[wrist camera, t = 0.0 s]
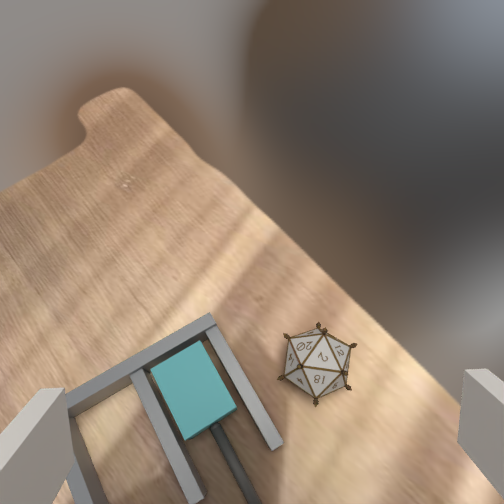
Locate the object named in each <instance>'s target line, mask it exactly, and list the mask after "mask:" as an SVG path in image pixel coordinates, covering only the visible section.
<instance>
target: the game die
mask: <svg viewBox="0 0 504 504" xmlns="http://www.w3.org/2000/svg"><path fill="white" fill-rule="evenodd" d="M320 325H321V324H320V323H319V322H318V323H317V324H316V327H317V328H316V329H313V330H310V331H307V332H304V333H302V334H299V335H296V336H293V337H289V335H288V334H284V333H283V335H284V338H286V339H288V346H287V354H286V362H285V370H284V375H281V376H279V377H278V379H277V380H283V379H284V378H286V379H287V380H289V381H290V382H292V383H293V384H294V385H296V386H297V387H299V388H300V389H302V390H303V391H304V392H306V393H307V394H309V395H310V396H312V397H313V398H314V400H313V401H314V403H313V404H314V405H315V407H316V406H317V405H318V404H319V403H318V402H319V401H318V398H320V397H322V396H325V395H327V394H329V393H331V392H333V391H336V390H338V389H340V388H342V387H346V389H347V390H352V389H351V386H349V385H347V376H348V368H349V360H350V351H351V348H354V347H356V345H357V344H356V343H353V344H351V345H348V344H346V343H344V342H342V341H341V340H339V339H337V338H335V337H334V336H332V335H330V334H329V333H327V329H326V327H325V328H323V330H322V329H320V327H321V326H320Z"/></svg>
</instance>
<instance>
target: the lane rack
mask: <svg viewBox="0 0 504 504" xmlns="http://www.w3.org/2000/svg"><path fill="white" fill-rule="evenodd" d="M207 339H208V340H209V342H210V343H211V345H212V347H213V349H214V351H215V352H216V354H217V356H218V358H219V359H220V361H221V363H222V365H223V367H224V368H225V370H226V372H227V374H228V376H229V377H230V379H231V381H232V383H233V385H234V386H235V388H236V390H237V392H238V393H239V395H240V397H241V399H242V401H243V402H244V404H245V406H246V408H247V410H248V411H249V413H250V415H251V417H252V419H253V420H254V422H255V424H256V426H257V428H258V429H259V431H260V433H261V435H262V436H263V438H264V440H265V442H266V444H267V445H268V447H269V449H270V450H271V451H273V450H274V449H276V448H277V447H279V446H280V445H282V444H283V443H284V442H283V440H282V438H281V437H280V435H279V433H278V431H277V430H276V428H275V426H274V424H273V423H272V421H271V419H270V417H269V416H268V414H267V412H266V410H265V409H264V407H263V405H262V403H261V402H260V400H259V398H258V397H257V395H256V393H255V391H254V390H253V388H252V386H251V384H250V383H249V381H248V379H247V377H246V376H245V374H244V372H243V370H242V369H241V367H240V365H239V363H238V362H237V360H236V358H235V356H234V355H233V353H232V351H231V350H230V348H229V346H228V344H227V343H226V341H225V339H224V337H223V336H222V334H221V332H220V330H219V329H218V327H217V325H216V322H215V321H214V319H213V317H212V315H211V314H210V312H209V313H207V314H206V315H204V316H202V317H200V318H199V319H197V320H195V321H193V322H192V323H190V324H188V325H186V326H185V327H183V328H181V329H179V330H178V331H176V332H174V333H172V334H170V335H169V336H167V337H165V338H163V339H162V340H160V341H158V342H156V343H155V344H153V345H151V346H149V347H148V348H146V349H144V350H142V351H141V352H139V353H137V354H135V355H134V356H132V357H130V358H128V359H127V360H125V361H123V362H121V363H119V364H118V365H116V366H114V367H112V368H111V369H109V370H107V371H105V372H104V373H102V374H100V375H98V376H97V377H95V378H93V379H91V380H90V381H88V382H86V383H84V384H83V385H81V386H79V387H77V388H76V389H74V390H72V391H70V392H69V393H67V394H65V395H66V402H67V410H68V417H69V424H70V432H71V439H72V446H73V454H74V461H75V462H74V464H73V466H72V468H71V470H70V471H69V473H68V475H67V477H66V480H67V483H68V485H69V488H70V491H71V494H72V496H73V499H74V502H75V504H109V503H108V501H107V498H106V496H105V493H104V491H103V488H102V486H101V483H100V481H99V478H98V476H97V473H96V471H95V468H94V465H93V463H92V460H91V458H90V455H89V453H88V450H87V448H86V445H85V443H84V440H83V438H82V435H81V433H80V430H79V428H78V425H77V423H76V420H75V418H74V417H75V416H77V415H79V414H80V413H82V412H84V411H86V410H87V409H89V408H91V407H92V406H94V405H96V404H98V403H99V402H101V401H103V400H104V399H106V398H108V397H110V396H111V395H113V394H115V393H116V392H118V391H120V390H121V389H123V388H125V387H127V386H128V385H130V384H132V383H133V384H134V386H135V389H136V391H137V393H138V395H139V397H140V399H141V402H142V404H143V406H144V408H145V410H146V412H147V414H148V417H149V419H150V421H151V423H152V425H153V427H154V430H155V432H156V434H157V436H158V438H159V440H160V442H161V445H162V447H163V449H164V451H165V453H166V455H167V458H168V460H169V462H170V464H171V466H172V468H173V470H174V473H175V475H176V477H177V479H178V481H179V483H180V486H181V488H182V490H183V492H184V494H185V496H186V498H187V501H188V503H189V504H196V503H197V502H199V501H200V500H202V499H203V498H204V497H205V495H206V493H207V490H206V488H205V486H204V484H203V482H202V480H201V478H200V476H199V474H198V472H197V470H196V468H195V466H194V464H193V461H192V459H191V457H190V455H189V453H188V451H187V449H186V447H185V445H184V443H183V441H182V439H181V437H180V435H179V433H178V431H177V428H176V426H175V424H174V422H173V420H172V418H171V416H170V414H169V412H168V410H167V408H166V406H165V404H164V402H163V400H162V398H161V395H160V393H159V391H158V389H157V387H156V385H155V383H154V381H153V379H152V377H151V375H150V372H151V370H150V369H151V368H153V367H155V366H157V365H158V364H160V363H162V362H163V361H165V360H167V359H169V358H170V357H172V356H174V355H175V354H177V353H179V352H181V351H182V350H184V349H186V348H187V347H189V346H191V345H193V344H194V343H196V342H198V341H199V340H200V341H201V343H202V342H203V341H205V340H207Z"/></svg>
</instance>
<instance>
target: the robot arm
mask: <svg viewBox="0 0 504 504" xmlns="http://www.w3.org/2000/svg"><path fill="white" fill-rule="evenodd" d="M457 442H458V444H459V445H460V446H461V447H462V448H463V450H464V451H465V452H466V453H467V455H468V456H469V457H470V458H471V460H472V461H473V462H474V463H475V464H476V466H477V467H478V468H479V469H480V471H481V472H482V473H483V474H484V476H485V477H486V478H487V479H488V481H489V482H490V483H491V484H492V485H493V487H494V488H495V489H496V490H497V492H498V493H499V494H500V495H501V497H502V498H503V499H504V382H503V381H501V380H500V379H499V378H498V377H496V376H495V375H494V374H493V373H491V372H490V371H489V370H488V369H468V370H464V380H463V389H462V399H461V410H460V420H459V430H458V441H457ZM74 462H75V461H74V454H73V446H72V439H71V432H70V424H69V417H68V410H67V402H66V395H65V388H45V389H40V390H39V391H38V392H37V393H36V394H35V395H34V396H33V398H32V399H31V400H30V401H29V402H28V403H27V404H26V406H25V407H24V408H23V409H22V410H21V411H20V412H19V414H18V415H17V416H16V417H15V418H14V419H13V420H12V422H11V423H10V424H9V425H8V426H7V427H6V428H5V430H4V431H3V432H2V433H1V434H0V504H52V503H53V501H54V499H55V497H56V496H57V494H58V492H59V490H60V488H61V486H62V484H63V483H64V481H65V479H66V477H67V475H68V473H69V471H70V470H71V468H72V466H73V464H74Z"/></svg>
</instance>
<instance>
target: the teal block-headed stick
mask: <svg viewBox="0 0 504 504" xmlns="http://www.w3.org/2000/svg"><path fill="white" fill-rule="evenodd" d="M150 370H151V372H152V374H153V376H154V378H155V380H156V382H157V384H158V386H159V388H160V390H161V392H162V394H163V396H164V399H165V401H166V403H167V405H168V407H169V409H170V411H171V413H172V415H173V417H174V419H175V421H176V423H177V425H178V427H179V429H180V431H181V433H182V435H183V438H184V440H188V439H192V438H194V437H195V436H197V435H198V434H200V433H201V432H203V431H205V430H206V429H208V428H209V427H210V430H211V432H212V434H213V436H214V438H215V440H216V442H217V444H218V446H219V448H220V450H221V452H222V454H223V456H224V457H225V459H226V461H227V463H228V465H229V467H230V469H231V471H232V473H233V475H234V477H235V479H236V481H237V483H238V485H239V487H240V489H241V491H242V492H243V494H244V496H245V498H246V500H247V502H248V504H262V503H261V501H260V499H259V497H258V495H257V493H256V491H255V489H254V487H253V486H252V484H251V482H250V480H249V478H248V476H247V474H246V472H245V470H244V468H243V467H242V465H241V463H240V461H239V459H238V457H237V455H236V453H235V451H234V449H233V448H232V446H231V444H230V442H229V440H228V438H227V436H226V434H225V432H224V430H223V429H222V427H221V425H220V423H218V422H219V421H220V420H222V419H223V418H225V417H226V416H228V415H229V414H231V413H233V412H234V411H236V410H237V407H236V405H235V403H234V401H233V399H232V397H231V396H230V394H229V392H228V390H227V388H226V387H225V385H224V383H223V381H222V379H221V377H220V376H219V374H218V372H217V370H216V368H215V367H214V365H213V363H212V361H211V359H210V357H209V356H208V354H207V352H206V350H205V348H204V347H203V345H202V343H201V341H200V340H199V341H198V342H196V343H194V344H193V345H191V346H189V347H187V348H186V349H184V350H182V351H181V352H179V353H177V354H175V355H174V356H172V357H170V358H169V359H167V360H165V361H163V362H162V363H160V364H158V365H157V366H155V367H153V368H151V369H150Z"/></svg>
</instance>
